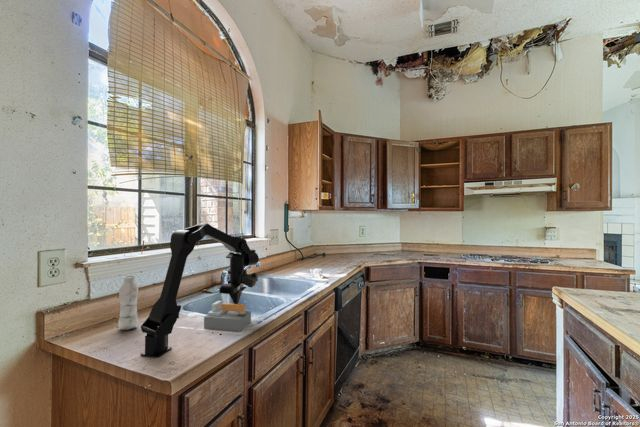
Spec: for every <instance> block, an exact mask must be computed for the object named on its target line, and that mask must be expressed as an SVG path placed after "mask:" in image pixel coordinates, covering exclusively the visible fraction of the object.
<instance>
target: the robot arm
mask: <svg viewBox="0 0 640 427" xmlns="http://www.w3.org/2000/svg"><path fill="white" fill-rule="evenodd" d="M205 237H206V238H208V239H209V238H210V239H212V240H214V241H215V242H218V243H220V244H222V246H224V247H225V248H226V249H227V250H229V251H230V252H229V253H228V254H227V255H226V256H225V258H226V259H229V270H228V271H227V274H229V280H227V283H225V284H222V285H221V286H219V288H218V293H219V294H227V295H229V296H230V298H231V300H232V302H233V304H240V303H239V302H240V300H241V297H242V293H243V291H244V290H245V289H247V287H249V288H253V287H255V286H256V285H257V282H258V280H259V277H258V274H257V273H256V272H253V273H252V274H250V273H249V274H248V273H247V269H245V267H249V266H254V265H255V266H256V265H257V264H258V263H259V260H260V258H259V255H258V253H257V252H256V249H250V247H249V245H248V242H247V240H246V239H245V238H242V237H236V236H232V235H230V234H228V233H227V232H224V231H221V230H220V229H218V228H216V227H215V226H212V225H211V224H210V223H205V222H204V223H202V222H200V223H197V224H195V225H193V226H190V227H186V228H184V229H177V230H175V231H173V232H172V233H171V236H170V242H169V243H170V244H169V247H170V251H171V252H170V253H171V256H170V260H169V264H168V267H167V270H166V274H165V278H164V281H163V285H162V290H161V293H160V297H159V298H158V299H157V301H155V303H154V304H153V306H152V308H151V310H150V313H149V315H148V317H147V318H146V320H145V321H144V322H143V323H142V324H141V326H140V330H141V332H142V333H143V334H144V333H145V334H146V335H145V336H144V351H142V352H141V353H140V356H142V357H150V358H151V357H152V358H159V357H161V356H162V355H164V354H166V353H167V352H169V351H170V350H172V346H169V335H170V334H171V335H172V332H173V329H174V325H175V324H176V322H177V320H178V319H179V318H180V312H181V309H182V305H179V304H178V302H177V297H178V294H179V290H180V286H181V282H182V278H183V273H184V270H185V267H186V263H187V260H188V257H189V255H190V254H191V253H192V252H193V251H194V250H195V247H196V244H197V242H200V241H201V240H203V239H204V238H205ZM244 285H245V286H244Z"/></svg>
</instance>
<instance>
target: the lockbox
mask: <svg viewBox="0 0 640 427" xmlns="http://www.w3.org/2000/svg"><path fill="white" fill-rule="evenodd" d="M250 323H252V311H251V310H245V314H244V315H240V312H236V311H227V312H225V313H224V314H222V315H221V316H209V315H208V314H206V315H204V316H203V329H207V330H208V329H209V330H220V331H230V332H239V333H241V331H242V330H243V329H245V328H246V327H247V326H248V325H250Z"/></svg>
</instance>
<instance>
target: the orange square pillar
mask: <svg viewBox="0 0 640 427" xmlns="http://www.w3.org/2000/svg"><path fill="white" fill-rule="evenodd" d="M222 310H224V311H236V312H240V315H244V314H245V311H246V304H241V303H238V304H234V303H231V302H230V303H229V302H222Z"/></svg>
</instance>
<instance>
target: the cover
mask: <svg viewBox="0 0 640 427" xmlns="http://www.w3.org/2000/svg"><path fill="white" fill-rule="evenodd" d="M222 304H223V301H222V300H216V301H215V302H214V303H211V310H209V311H208V312H207V315H209V316H221V315H222V314H224V313H225V312H227V311H224V310H222Z"/></svg>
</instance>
